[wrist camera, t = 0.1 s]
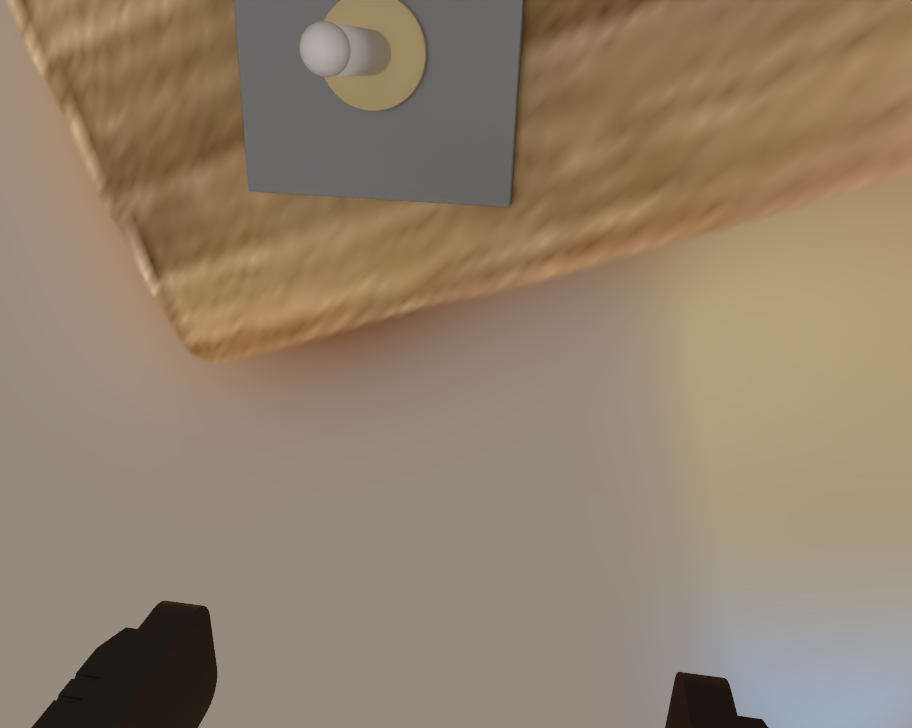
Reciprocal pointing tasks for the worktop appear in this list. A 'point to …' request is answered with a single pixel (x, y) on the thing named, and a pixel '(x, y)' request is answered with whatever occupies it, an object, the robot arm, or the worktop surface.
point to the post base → (381, 97)
